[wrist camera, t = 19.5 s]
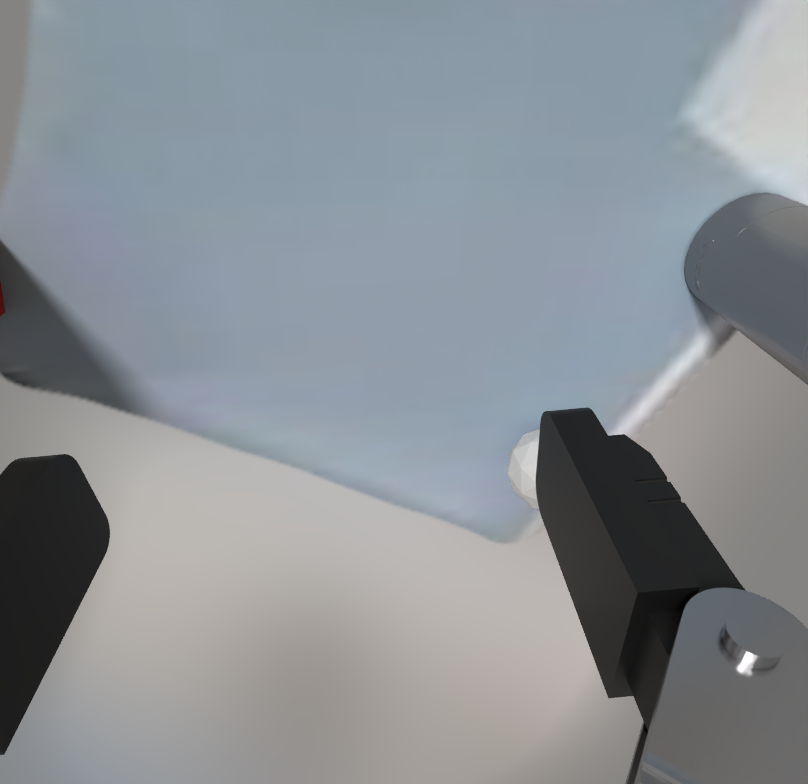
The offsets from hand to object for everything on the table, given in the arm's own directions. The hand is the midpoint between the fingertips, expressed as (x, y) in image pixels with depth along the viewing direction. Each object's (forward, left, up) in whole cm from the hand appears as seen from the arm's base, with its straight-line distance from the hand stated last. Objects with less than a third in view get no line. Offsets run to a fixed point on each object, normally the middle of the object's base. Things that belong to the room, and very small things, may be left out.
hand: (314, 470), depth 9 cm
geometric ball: (-15, +28, -33) cm, 46 cm away
